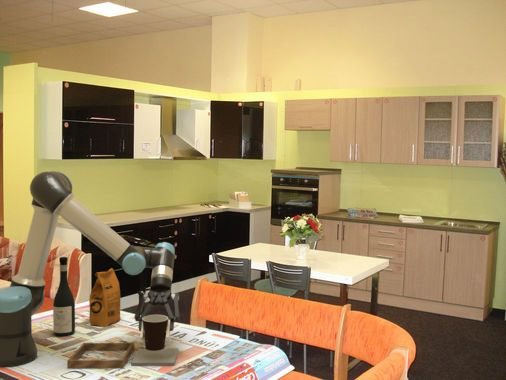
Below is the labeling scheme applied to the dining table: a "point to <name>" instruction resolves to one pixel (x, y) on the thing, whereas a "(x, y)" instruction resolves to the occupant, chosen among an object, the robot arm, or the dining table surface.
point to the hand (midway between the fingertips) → (154, 339)
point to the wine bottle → (63, 304)
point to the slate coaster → (155, 357)
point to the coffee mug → (155, 331)
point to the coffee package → (105, 300)
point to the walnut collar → (105, 363)
